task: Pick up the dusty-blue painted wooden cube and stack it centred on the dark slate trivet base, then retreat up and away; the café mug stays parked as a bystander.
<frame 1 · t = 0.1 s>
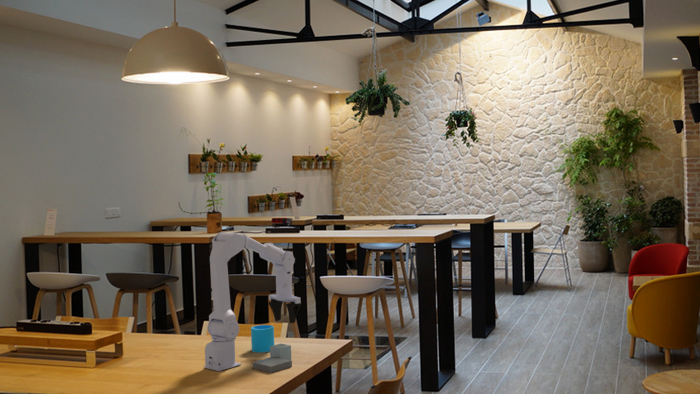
hand: (285, 321, 240), 10 cm above the table, fingers open, 7 cm apart
mug: (263, 349, 243), on the table
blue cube: (280, 360, 225), on the table
slate base: (272, 367, 216), on the table
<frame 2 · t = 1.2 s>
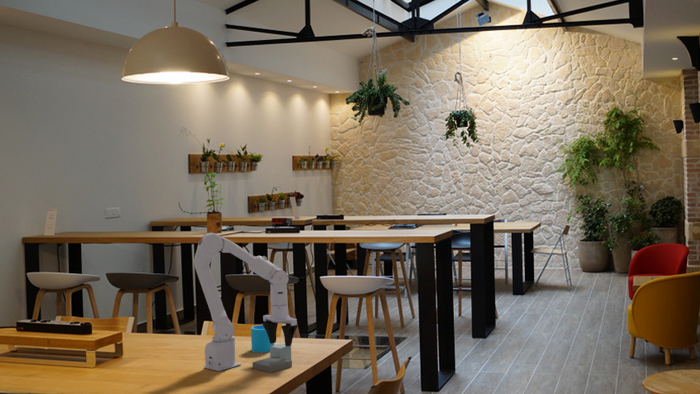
hand: (280, 344, 225), 5 cm above the table, fingers open, 7 cm apart
nothing on the table moved.
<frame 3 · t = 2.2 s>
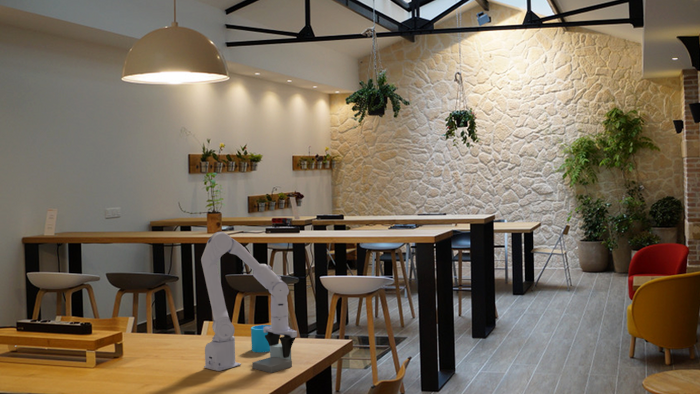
hand: (280, 356, 225), 1 cm above the table, fingers closed on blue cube, 5 cm apart
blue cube: (280, 360, 225), on the table, touching gripper
everything else where it was.
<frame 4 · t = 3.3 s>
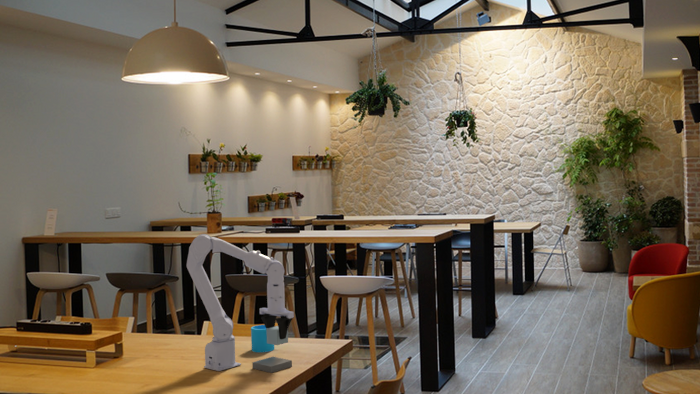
hand: (277, 337, 222), 8 cm above the table, fingers closed on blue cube, 5 cm apart
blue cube: (277, 342, 222), point 7 cm above the table, touching gripper
everything else where it was.
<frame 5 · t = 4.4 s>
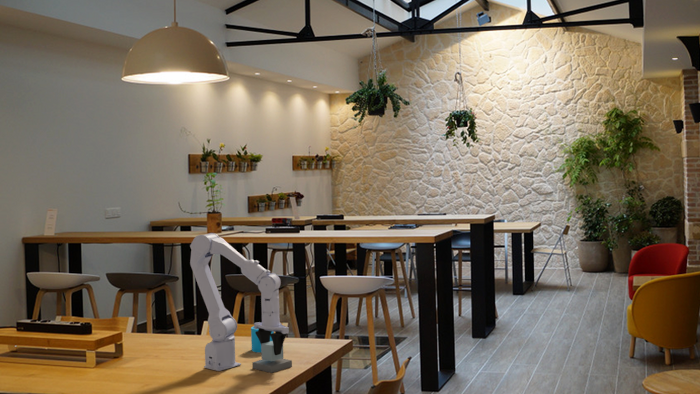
hand: (271, 353, 216), 5 cm above the table, fingers closed on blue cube, 5 cm apart
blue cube: (272, 358, 216), point 3 cm above the table, touching gripper
everything else where it was.
when the fingers open (5 cm above the table, at t = 4.9 s): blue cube stays where it is, resting on slate base.
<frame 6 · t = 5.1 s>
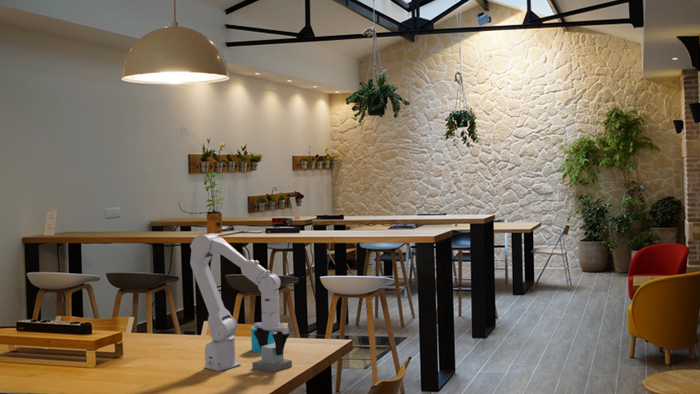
hand: (271, 353, 216), 5 cm above the table, fingers open, 7 cm apart
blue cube: (272, 361, 216), point 2 cm above the table, touching slate base
everything else where it was.
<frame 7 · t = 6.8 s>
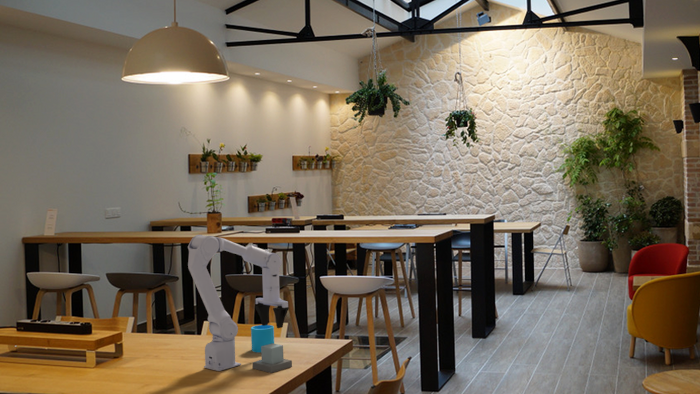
hand: (272, 326, 230), 10 cm above the table, fingers open, 7 cm apart
nothing on the table moved.
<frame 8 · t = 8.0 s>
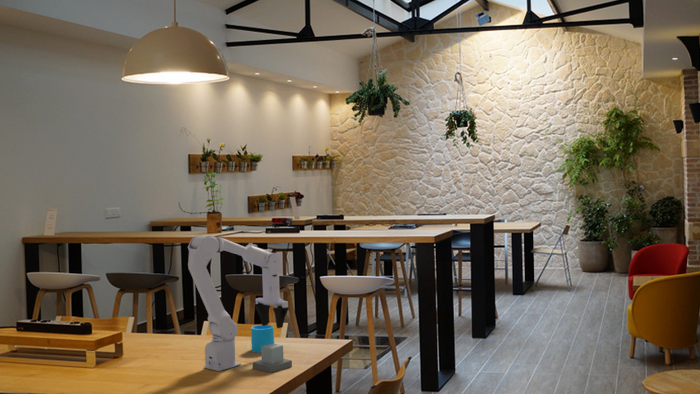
hand: (272, 326, 230), 10 cm above the table, fingers open, 7 cm apart
nothing on the table moved.
at the end: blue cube inside the target area on the slate base (0.2 cm from its centre), point 2.0 cm above the slate base's base; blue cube tilted 0°; the gripper is holding nothing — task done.
